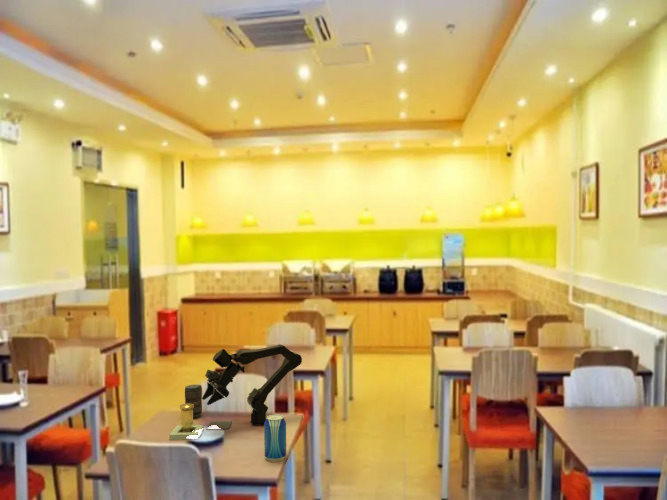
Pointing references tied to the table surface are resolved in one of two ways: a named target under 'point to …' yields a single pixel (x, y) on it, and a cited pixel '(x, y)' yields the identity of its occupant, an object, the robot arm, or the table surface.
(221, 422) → the mat
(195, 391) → the camera lens
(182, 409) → the brass cover
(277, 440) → the beer can
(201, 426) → the housing
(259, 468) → the table surface
